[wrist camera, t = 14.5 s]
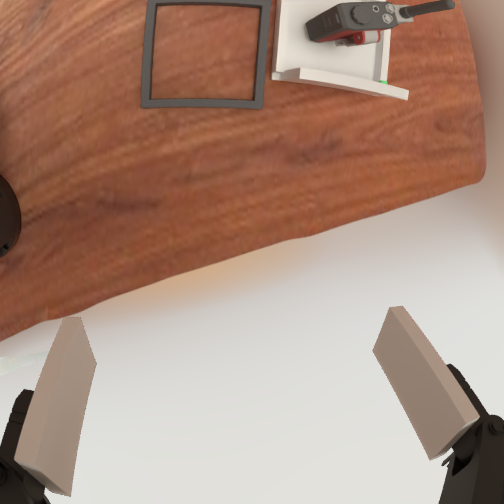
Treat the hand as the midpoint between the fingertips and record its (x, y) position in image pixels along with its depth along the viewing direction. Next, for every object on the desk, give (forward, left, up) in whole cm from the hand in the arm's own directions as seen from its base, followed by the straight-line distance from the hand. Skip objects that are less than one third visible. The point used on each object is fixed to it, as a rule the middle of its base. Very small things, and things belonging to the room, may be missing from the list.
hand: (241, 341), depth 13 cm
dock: (+14, +19, -33) cm, 40 cm away
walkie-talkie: (+14, +19, -32) cm, 40 cm away
